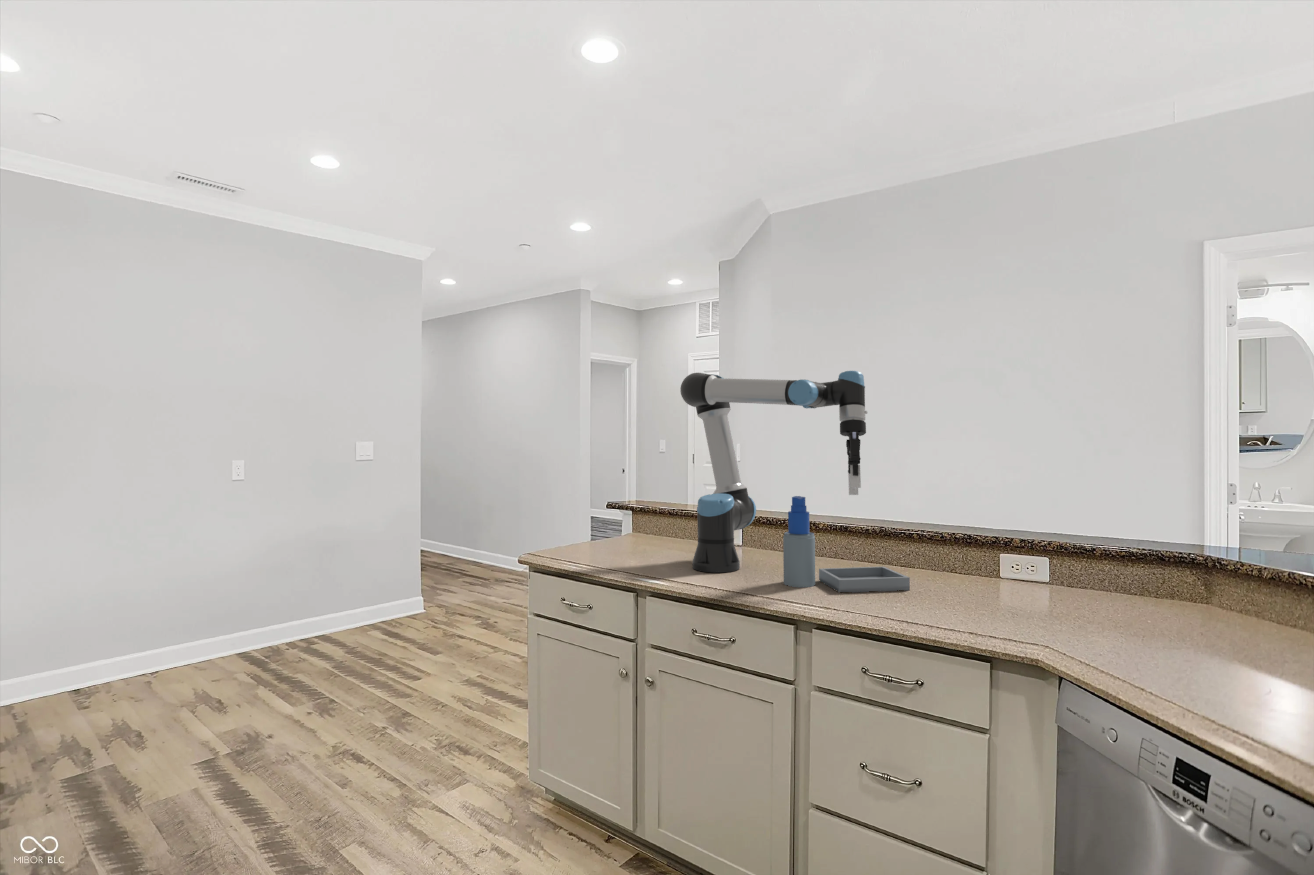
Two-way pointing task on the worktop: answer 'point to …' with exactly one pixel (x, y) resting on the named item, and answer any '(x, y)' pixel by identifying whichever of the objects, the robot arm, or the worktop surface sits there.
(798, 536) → the spray bottle
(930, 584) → the worktop surface
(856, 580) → the tray
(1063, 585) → the worktop surface
